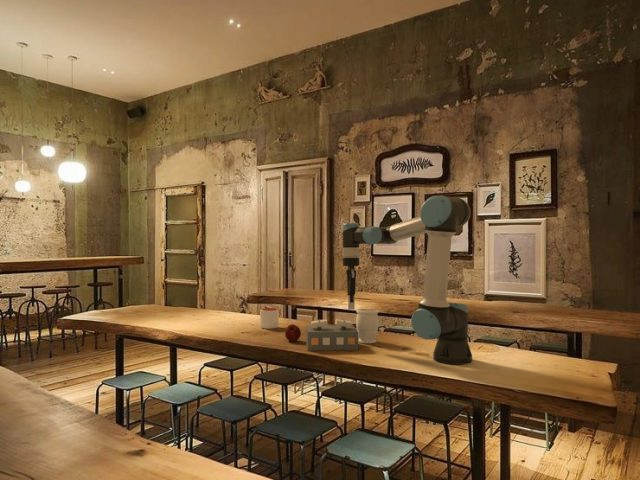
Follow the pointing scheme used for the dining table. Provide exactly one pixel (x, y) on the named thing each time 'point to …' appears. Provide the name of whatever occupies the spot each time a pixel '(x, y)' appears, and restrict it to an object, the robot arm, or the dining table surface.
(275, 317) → the cup
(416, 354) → the dining table surface
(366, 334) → the jar
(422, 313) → the robot arm
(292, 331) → the apple
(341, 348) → the console
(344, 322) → the switch
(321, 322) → the switch
